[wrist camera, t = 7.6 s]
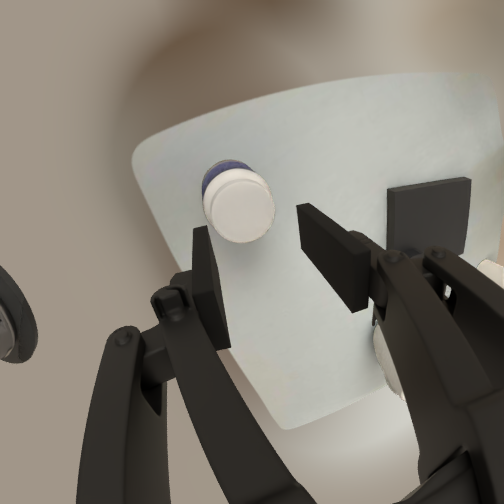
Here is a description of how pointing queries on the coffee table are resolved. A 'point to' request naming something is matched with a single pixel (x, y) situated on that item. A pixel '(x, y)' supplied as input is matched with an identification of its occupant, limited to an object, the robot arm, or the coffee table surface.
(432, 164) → the coffee table surface
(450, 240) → the scale
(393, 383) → the mug
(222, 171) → the pill bottle
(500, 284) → the foam cup
